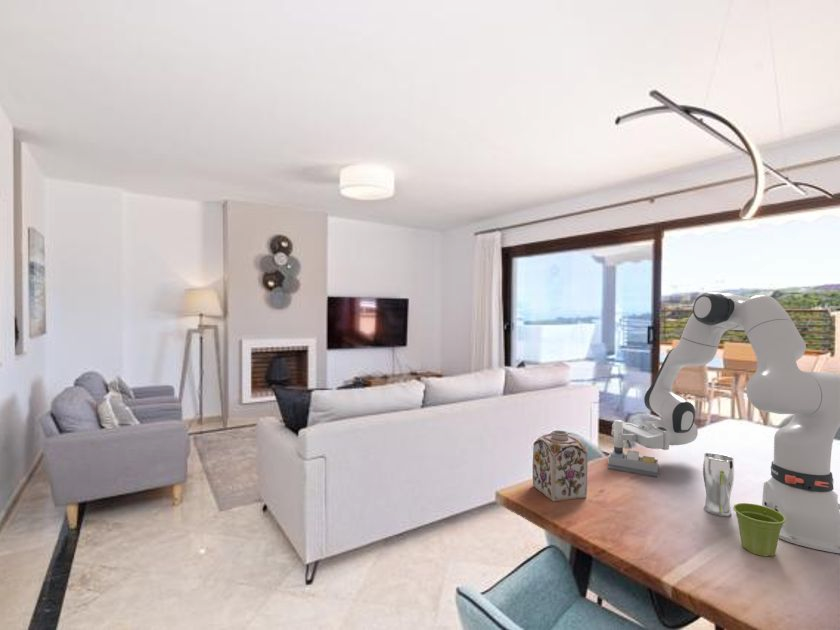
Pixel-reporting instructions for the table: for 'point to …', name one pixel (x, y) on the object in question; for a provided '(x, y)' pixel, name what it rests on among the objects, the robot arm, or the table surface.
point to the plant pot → (759, 528)
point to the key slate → (618, 455)
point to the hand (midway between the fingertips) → (616, 435)
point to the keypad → (633, 465)
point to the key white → (633, 455)
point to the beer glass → (718, 483)
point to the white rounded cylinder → (618, 430)
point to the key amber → (648, 459)
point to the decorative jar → (560, 466)
